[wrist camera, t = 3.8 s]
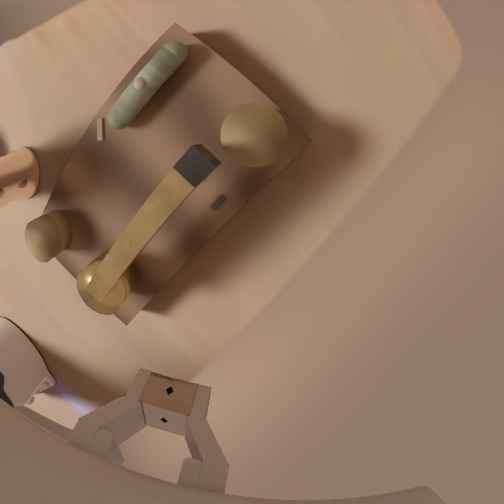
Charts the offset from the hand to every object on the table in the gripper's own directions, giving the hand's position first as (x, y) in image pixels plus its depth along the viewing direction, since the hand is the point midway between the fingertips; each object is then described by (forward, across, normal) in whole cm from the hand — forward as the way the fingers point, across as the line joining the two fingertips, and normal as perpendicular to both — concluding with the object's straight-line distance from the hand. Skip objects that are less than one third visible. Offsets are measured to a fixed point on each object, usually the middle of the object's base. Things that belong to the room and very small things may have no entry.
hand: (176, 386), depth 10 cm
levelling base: (+16, +8, -4) cm, 18 cm away
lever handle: (+13, +6, -1) cm, 14 cm away
